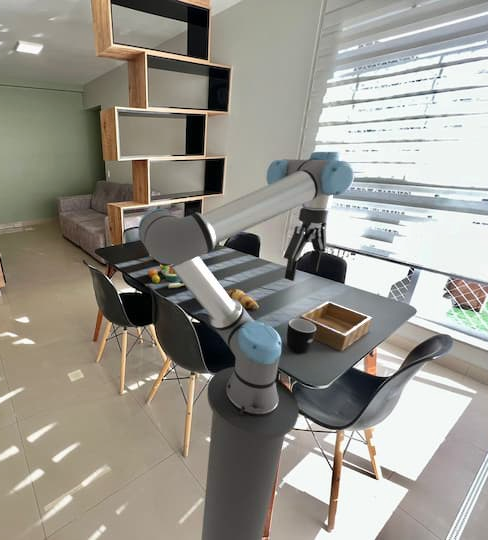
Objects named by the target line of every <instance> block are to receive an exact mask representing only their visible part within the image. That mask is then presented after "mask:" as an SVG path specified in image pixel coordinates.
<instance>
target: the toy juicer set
mask: <svg viewBox="0 0 488 540" xmlns="http://www.w3.org/2000/svg"><path fill="white" fill-rule="evenodd" d="M159 269H160V273H161V274H162V275H163V277H164V278H165V279H166V280H167V281H168V282H171V283H168V284H167V287H168V289H177V288H180V287H183V286H185V285H184V284H183V283H181V282H178V280H180V279H179V278H178V276H177V275H176V274H175V273H174V272H173V270H172V269H171V268H170V267H164V266H162V265H161V264H160V263H159ZM148 277H149V278H151V281H152V283H154V284H158V283H159V282H160V281H161V277H160V276H159V273H158V271H157V270H156V266H154V267H153V268H152V269H151V270H150V271H149V272H148Z"/></svg>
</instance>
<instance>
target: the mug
mask: <svg viewBox="0 0 488 540" xmlns="http://www.w3.org/2000/svg"><path fill="white" fill-rule="evenodd" d="M315 332H316V327H315V325H314V324H312V323H311V322H309V321H306V320H303V319H300V318H293V319H289V320H288V322H287V330H286V344H287V347H288V349H289V350H290V351H291V352H293V353H295V354H299V355H300V354H302V355H303V354H306V353H307V352H308V351H309V350H310V348H311V346H312V344H313V342H314V340H315V339H314V336H315Z"/></svg>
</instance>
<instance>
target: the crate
mask: <svg viewBox="0 0 488 540" xmlns="http://www.w3.org/2000/svg"><path fill="white" fill-rule="evenodd" d="M299 319H303V320H306V321H309V322H311V323H312V324H314V325H315V327H316V332H315V336H314V339H313V340H316V341H319V342H321V343H322V344H324V345H326V346H329V347H331V348H332V349H335V350H337V351H339V352H343V351H344V350H346V349H347V348H348V347H350V346H351V345H352V344H354V343H355V342H356V341H358V340H359V339H360V338H362V337H363V336H364V335H366V334H367V333H369V329H370V327H371V323H372V320H373V317H372V316H370V315H367V314H365V313H361V312H358V311H356V310H353V309H351V308H348V307H345V306H343V305H340V304H337V303H334V302H332V301H329V300H327V301H325V302H324V303H321V304H320V305H318V306H316V307H314V308H312V309H311V310H309V311H307V312H304V313H303V314H301V315H299Z"/></svg>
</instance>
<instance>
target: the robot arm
mask: <svg viewBox="0 0 488 540" xmlns="http://www.w3.org/2000/svg"><path fill="white" fill-rule="evenodd" d="M341 158H342V155H341V153H340V152H339V151H313V152H311V154H310V156H309V158H308V159H286V158H283V159H276V160H274V161H272V162H271V163H270V164H269V165H268V168H267V170H266V182H267V185H264V186H263V187H260V188H258V189H256V190H253V191H252V192H249V193H247V194H245V195H243V196H241V197H238V198H235V199H234V200H232V201H230V202H227V203H225V204H223V205H221V206H219V207H216V208H214V209H212V210H210V211H207V212H205V213H200V212H195V213H192V214H190V215H187V216H184V217H178V216H177V215H175V214H174V213H173V212H172V211H170V210H169V209H165V208H154V209H151V210H149V211H148V212H146V213H145V214H144V215H143V216H142V217H141V219H140V220H139V223H138V227H137V228H138V229H137V230H138V238H139V240H140V241H141V243H142V244H143V245H144V247H145V250H146V251H147V253H148V254H149V255H151V256H152V257H153V258H152V257H151V258H152V259H153V260H155V261H157V262H158V263H159V265H160V264H161V265H162V266H164V267H169V269H170V268H171V269H172V270H173V272H174V273H175V274H176V275H177V276H178V278H179V279H178V280H180V281H181V283H182V284H184V285H183V286H185V288H186V289H187V290H188V291H189V292H190V293H191V294H192V296H193V297H194V299H196V301H197V302H198V303H199V305H200V306H201V307H202V308H203V309H204V311H205V312H206V313H207V314H208V321H209V322H208V323H209V324H210V325H211V326H212V327H213V329H214V330H215V331H216V333H218V335H219V336H220V337H221V338H222V340H223V341H224V342H225V344H226V345H227V347H228V348H229V349H230V351H231V352H232V354H233V355H234V357H235V361H234V367H235V370H234V372H233V374H232V376H231V377H230V379H229V381H228V383H227V386H226V395H227V398H228V400H229V402H230V403H231V404H232V405H233V406H234V407H235V408H236V409H238V410H239V411H240V413H239V414H240V415H243V413H245V414H248V415H251V416H267V415H270V414H271V413H273V412H274V411H275V410H276V408H277V405H278V393H277V389H276V384H275V379H276V378H277V374H278V369H279V364H280V359H281V355H282V338H281V336H280V334H279V333H278V331H277V330H275V329H274V327H272V326H270V325H269V324H265V323H263V322H260V321H256V320H254V318H252V316H251V315H250V314H249V313H248V312H247V310H246V308H243V306H242V305H241V304H240V302H239V301H237V300H235V299H231V298H230V297H229V296H228V294H227V293H226V292H225V291H226V290H225V289H224V287H223V286H222V285H221V284H220V282H219V281H218V280H217V278H216V277H215V276H214V274H213V273H212V271H211V270H210V269H209V267H208V266H207V265H206V264H205V262H204V261H203V260H202V258H201V257H202V256H203V255H205V254H208V253H210V252H212V251H214V250H215V247H216V245H217V244H219V243H221V242H223V241H225V240H228V239H230V238H232V237H234V236H236V235H239V234H241V233H243V232H245V231H247V230H249V229H251V228H255V227H256V226H258V225H260V224H263V223H265V222H267V221H269V220H271V219H274V218H276V217H277V216H279V215H282V214H285V213H286V212H288V211H290V210H293V209H296V208H297V207H299V206H301V208H300V209H299V210H300V211H299V214H298V220H299V221H300V222H302V224H301V226H299V225H298V226H297V225H295V227H294V230H293V233H292V236H291V239H290V241H289V243H288V245H287V247H286V250H285V252H284V255H283V259H285V260H287V262H286V268H285V273H284V279H285V280H287V281H291V282H294V281H295V278H296V272H297V268H298V264H299V263H298V262H299V261H298V258H299V256H300V255H301V253H302V251H303V249H304V248H305V246H306V245H307V244H308V243H309V242H311V245H312V248H313V250H311V253H310V258H309V262H308V265H307V266H308V267H307V269H308V270H309V271H313V272H318V269H319V265H320V260H321V256H322V253H325V252H326V250H327V224H328V218H329V213H330V210H329V209H330V208H331V207H332V201H333V196H340V195H343V194H344V193H346V192H347V191H348V190H349V189H350V188H351V186H352V184H353V182H354V180H355V169H354V167H353V165H352V164H351V163H350V162H348V161H346V160H341ZM276 383H277V382H276Z"/></svg>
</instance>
